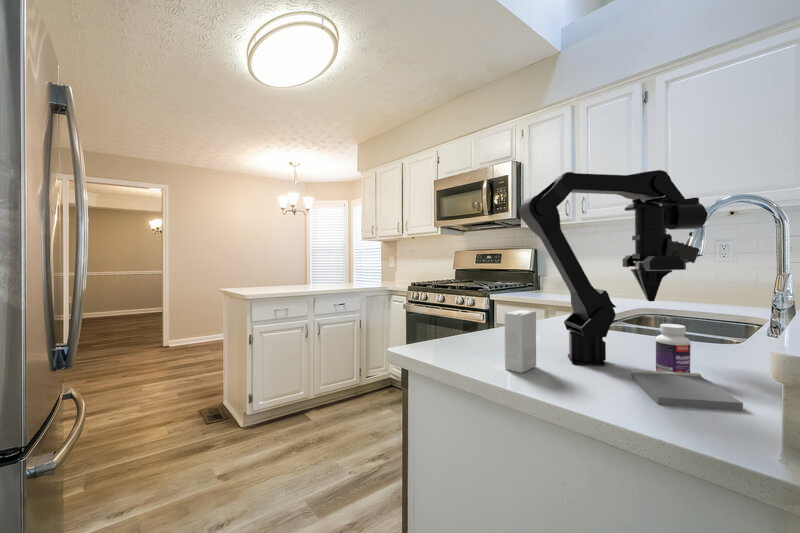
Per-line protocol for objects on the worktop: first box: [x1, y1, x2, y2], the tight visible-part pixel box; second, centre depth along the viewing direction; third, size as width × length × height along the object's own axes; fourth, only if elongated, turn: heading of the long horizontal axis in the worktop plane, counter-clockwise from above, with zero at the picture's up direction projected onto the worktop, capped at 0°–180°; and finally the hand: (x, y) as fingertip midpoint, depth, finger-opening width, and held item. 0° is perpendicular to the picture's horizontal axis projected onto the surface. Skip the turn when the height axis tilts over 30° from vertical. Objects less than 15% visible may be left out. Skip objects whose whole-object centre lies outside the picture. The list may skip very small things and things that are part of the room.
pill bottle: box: [655, 323, 691, 373], centre depth 71 cm, size 5×5×10 cm
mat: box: [630, 369, 744, 412], centre depth 63 cm, size 11×13×2 cm
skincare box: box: [504, 309, 537, 374], centre depth 78 cm, size 6×4×12 cm
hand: (650, 301), depth 82 cm, fingers closed
